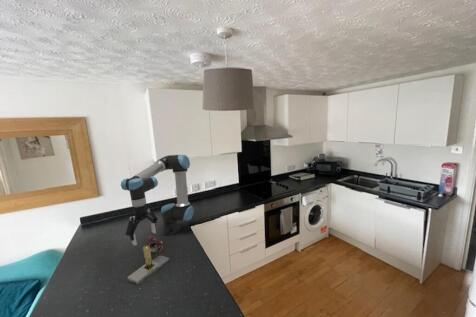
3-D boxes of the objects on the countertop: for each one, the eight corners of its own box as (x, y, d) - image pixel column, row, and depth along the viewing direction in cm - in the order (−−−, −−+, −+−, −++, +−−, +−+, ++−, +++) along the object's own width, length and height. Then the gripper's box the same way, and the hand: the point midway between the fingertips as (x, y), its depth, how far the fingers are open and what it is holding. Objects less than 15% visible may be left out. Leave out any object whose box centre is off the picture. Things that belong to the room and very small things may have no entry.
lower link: (159, 256, 134) (159, 255, 134) (169, 259, 130) (168, 258, 130) (139, 271, 121) (139, 270, 121) (149, 275, 117) (149, 274, 117)
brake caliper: (142, 254, 135) (143, 235, 141) (147, 255, 144) (149, 237, 150) (159, 251, 136) (160, 233, 142) (163, 252, 146) (164, 235, 151)
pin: (150, 266, 125) (146, 244, 123) (154, 268, 123) (150, 245, 121) (145, 270, 122) (141, 247, 119) (149, 271, 120) (145, 249, 118)
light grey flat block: (150, 263, 128) (149, 260, 128) (160, 266, 124) (159, 263, 123) (127, 280, 114) (127, 277, 114) (138, 284, 110) (137, 281, 110)
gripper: (152, 197, 129) (157, 227, 132) (114, 212, 107) (121, 248, 110) (160, 198, 126) (165, 229, 129) (123, 214, 104) (129, 251, 107)
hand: (144, 238), depth 119 cm, fingers open, 13 cm apart
